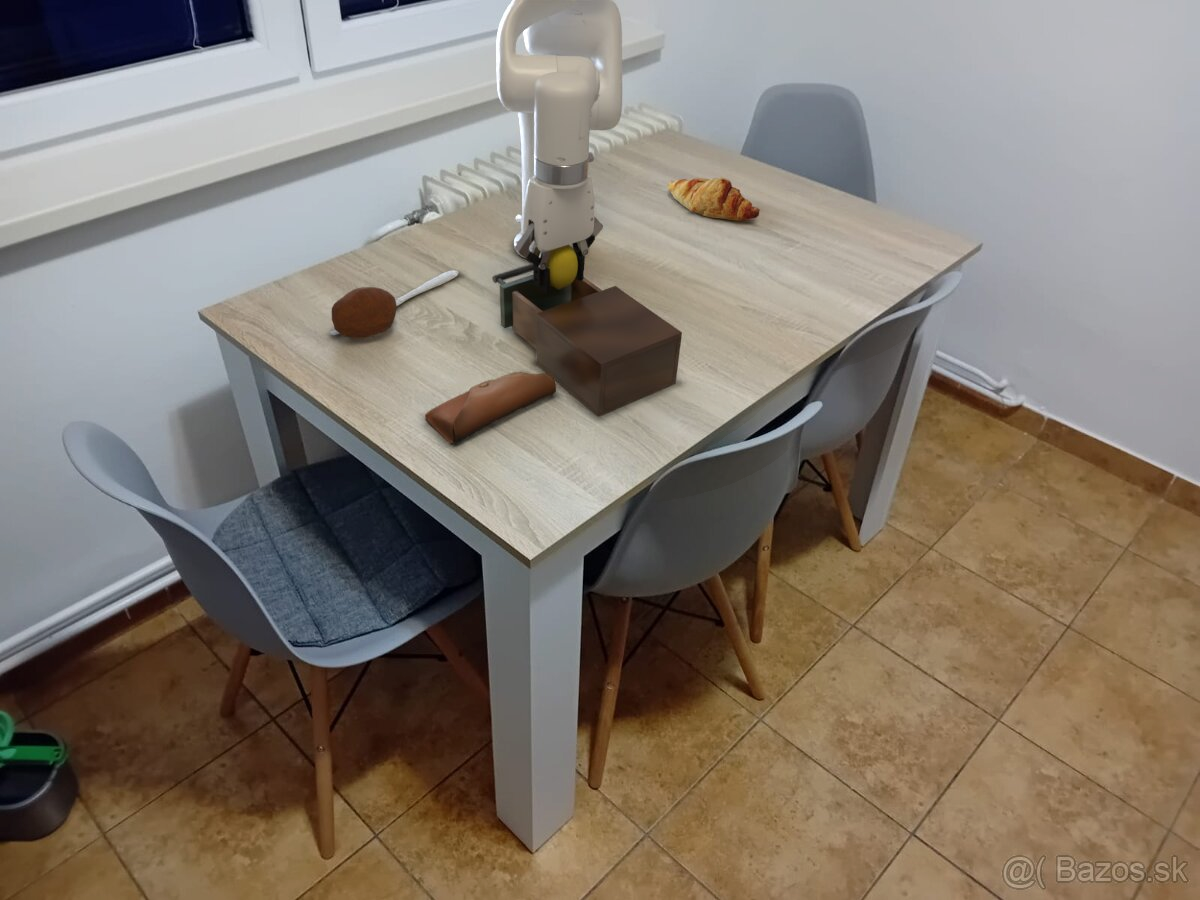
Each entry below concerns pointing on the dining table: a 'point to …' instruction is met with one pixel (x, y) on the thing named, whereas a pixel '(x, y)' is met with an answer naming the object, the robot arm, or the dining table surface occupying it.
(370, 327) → the potato
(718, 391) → the dining table surface
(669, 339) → the cabinet
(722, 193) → the croissant
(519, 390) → the sunglasses case
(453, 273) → the butter knife
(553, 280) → the lemon
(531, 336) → the drawer
